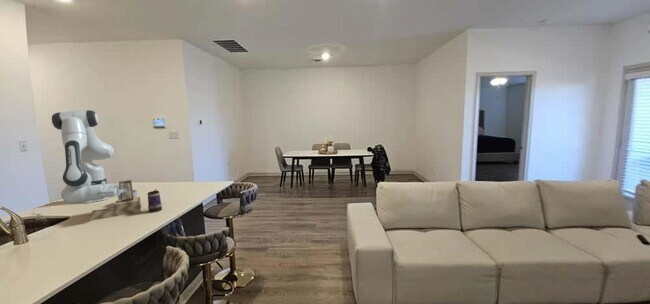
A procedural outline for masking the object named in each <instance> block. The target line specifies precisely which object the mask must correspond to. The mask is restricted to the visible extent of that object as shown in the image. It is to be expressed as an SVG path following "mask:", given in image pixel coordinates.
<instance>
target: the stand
mask: <svg viewBox="0 0 650 304" xmlns="http://www.w3.org/2000/svg"><path fill="white" fill-rule="evenodd" d="M141 200H142V199H141V196H137V197H136V198H134V200H132V201H125V202H121V200H119V199H118V200H116V201H115V203H114V206H113V207H107V208H101V209H93V210H92V211H91V212H90V214H89V221H96V220H102V219H108V218H113V217H114V218H115V217H118V216H125V215H130V214H138V213H141V210H142V203H141V202H142V201H141Z"/></svg>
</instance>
